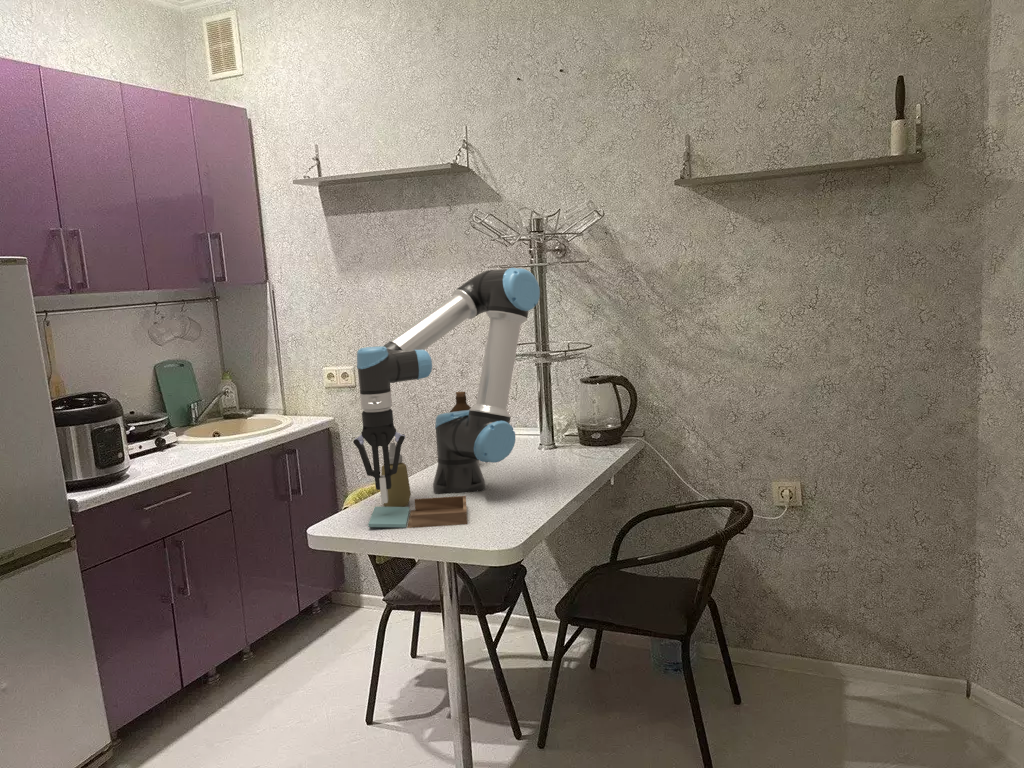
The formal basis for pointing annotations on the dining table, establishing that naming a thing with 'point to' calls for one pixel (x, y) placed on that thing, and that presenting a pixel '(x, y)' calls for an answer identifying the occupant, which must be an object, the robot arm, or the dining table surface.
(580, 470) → the dining table surface
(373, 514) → the panel
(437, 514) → the crate
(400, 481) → the squeeze bottle
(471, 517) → the dining table surface
